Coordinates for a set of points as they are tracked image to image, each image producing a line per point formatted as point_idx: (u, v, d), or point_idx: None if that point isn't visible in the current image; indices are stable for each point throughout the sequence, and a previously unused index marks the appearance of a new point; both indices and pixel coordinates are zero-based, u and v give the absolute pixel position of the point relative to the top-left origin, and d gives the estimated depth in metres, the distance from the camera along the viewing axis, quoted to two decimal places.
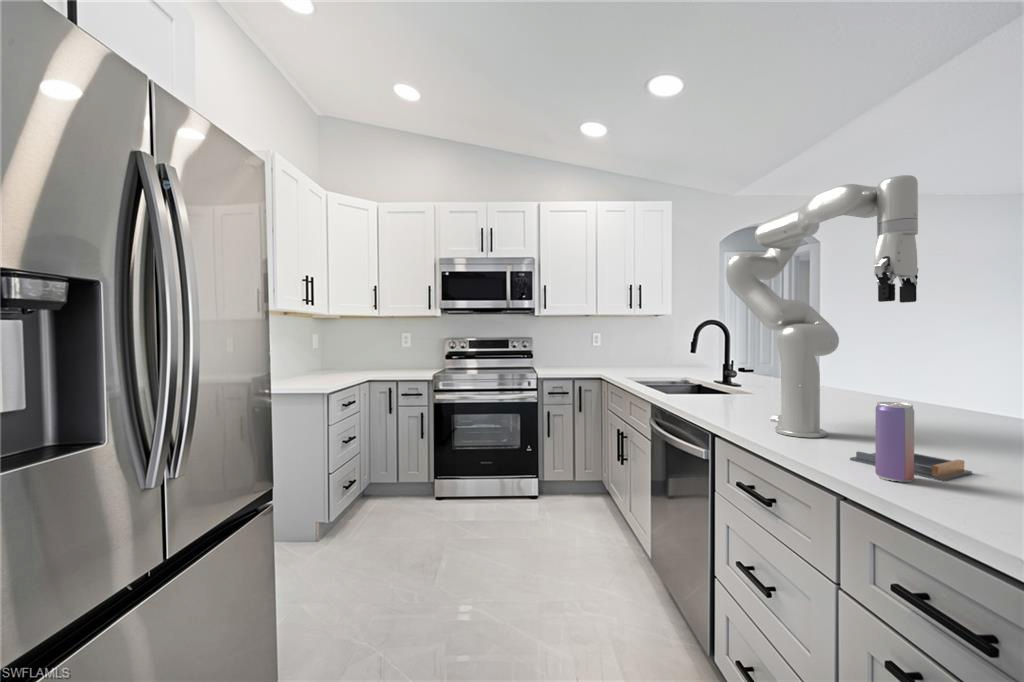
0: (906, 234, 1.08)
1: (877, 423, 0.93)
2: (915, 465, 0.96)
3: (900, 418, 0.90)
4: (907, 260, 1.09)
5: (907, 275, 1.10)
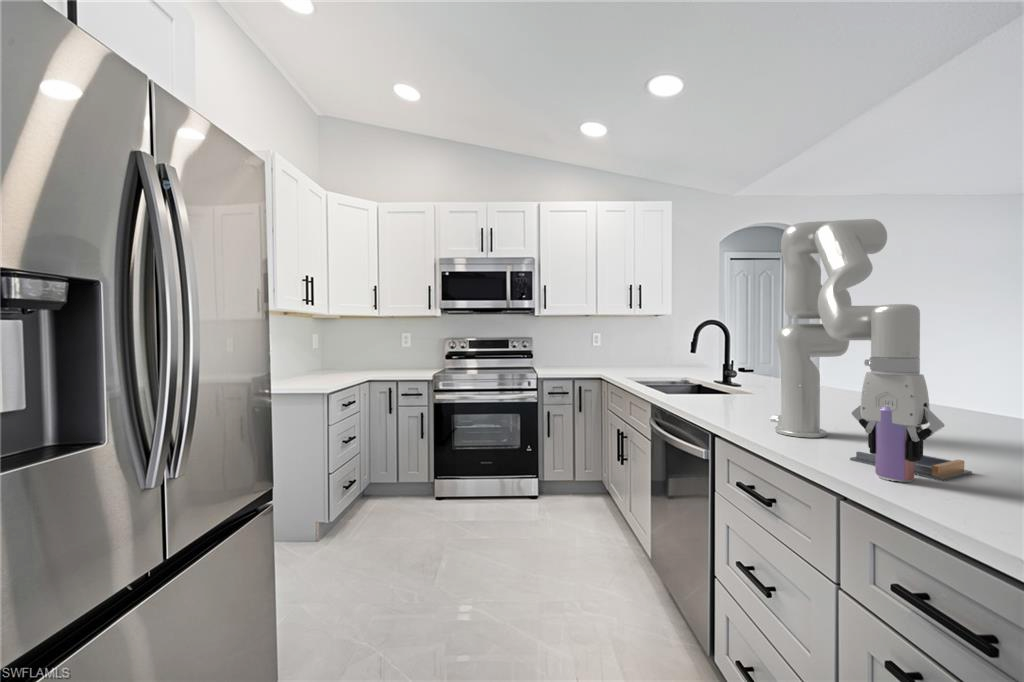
0: None
1: (877, 423, 0.93)
2: (915, 465, 0.96)
3: None
4: None
5: None
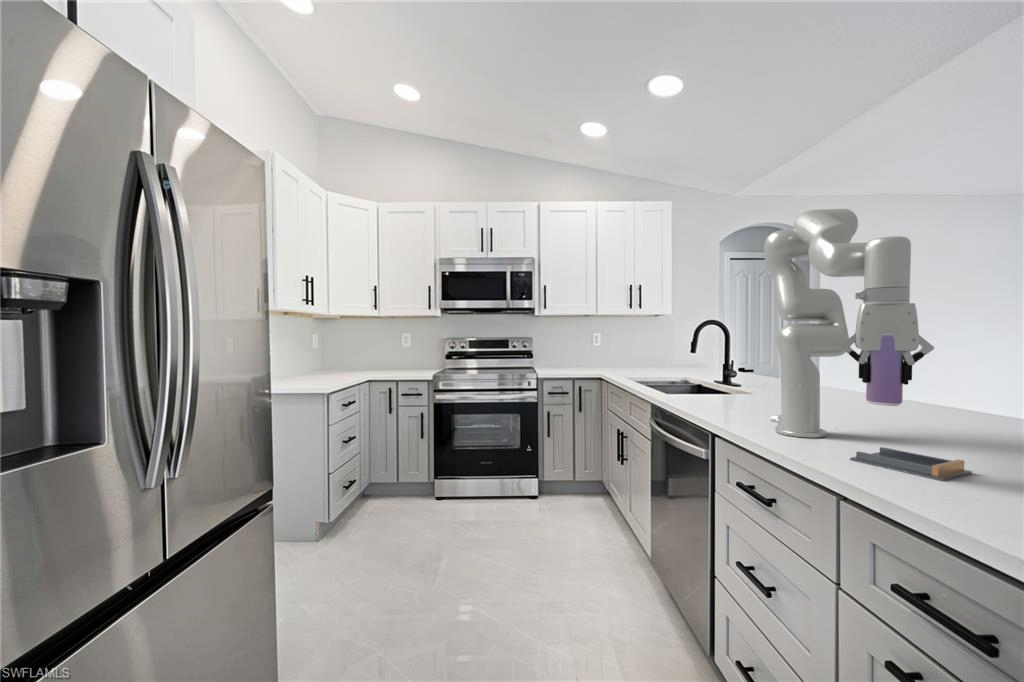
0: None
1: (876, 352, 0.97)
2: (915, 465, 0.96)
3: None
4: None
5: None
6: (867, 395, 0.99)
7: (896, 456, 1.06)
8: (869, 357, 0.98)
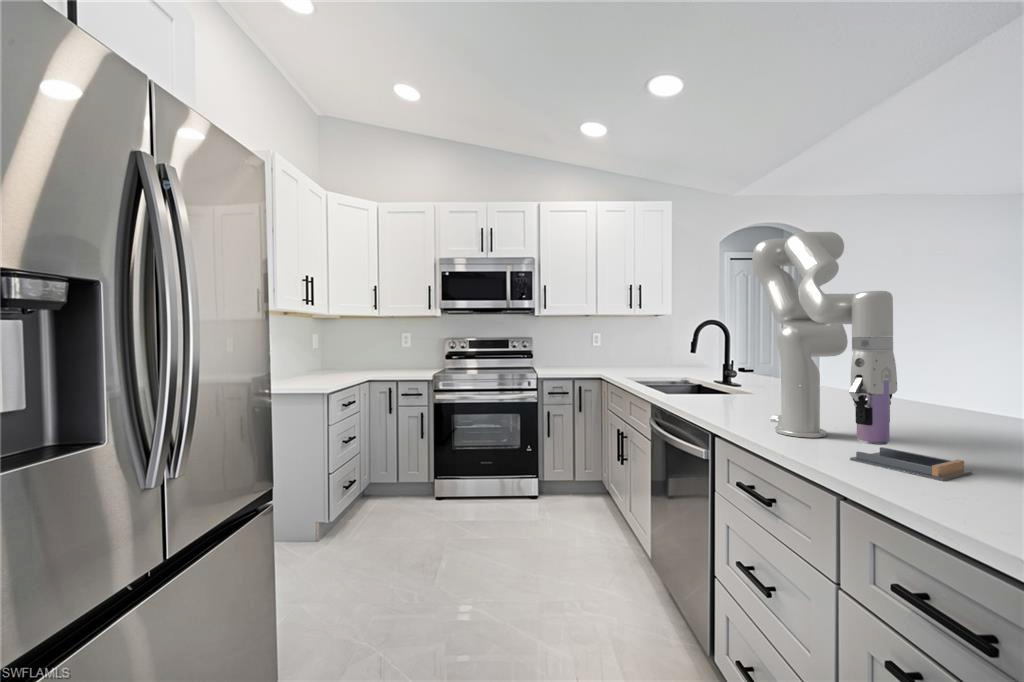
0: None
1: (880, 396, 1.04)
2: (915, 465, 0.96)
3: None
4: None
5: None
6: (868, 436, 1.05)
7: (896, 456, 1.06)
8: (871, 401, 1.05)
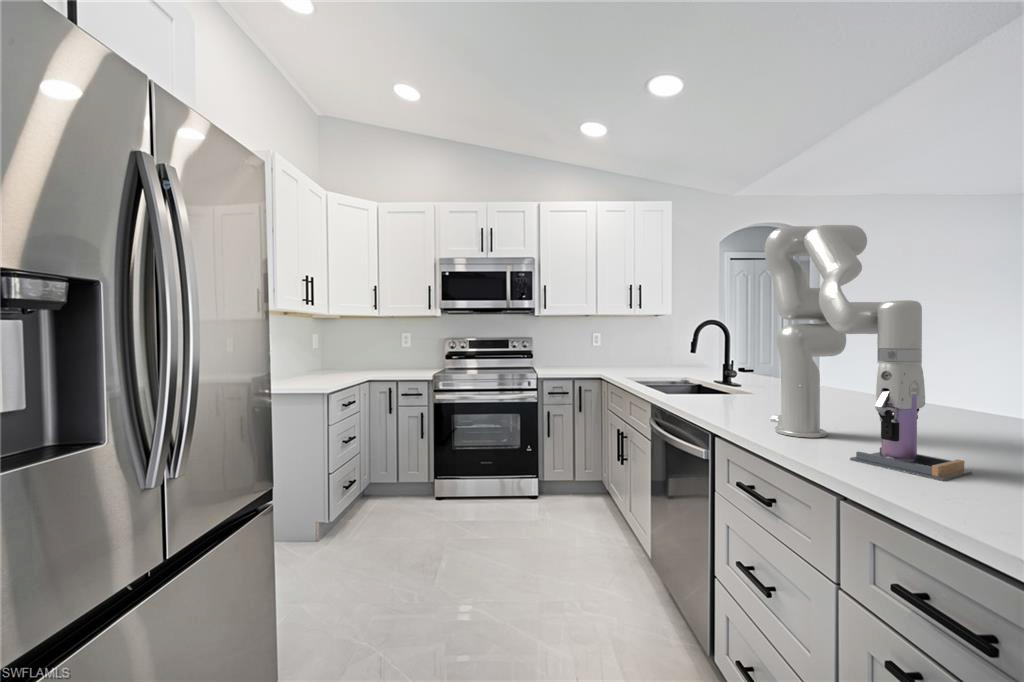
0: None
1: (907, 410, 0.99)
2: (915, 465, 0.96)
3: None
4: None
5: None
6: (894, 453, 1.01)
7: None
8: (898, 415, 1.00)
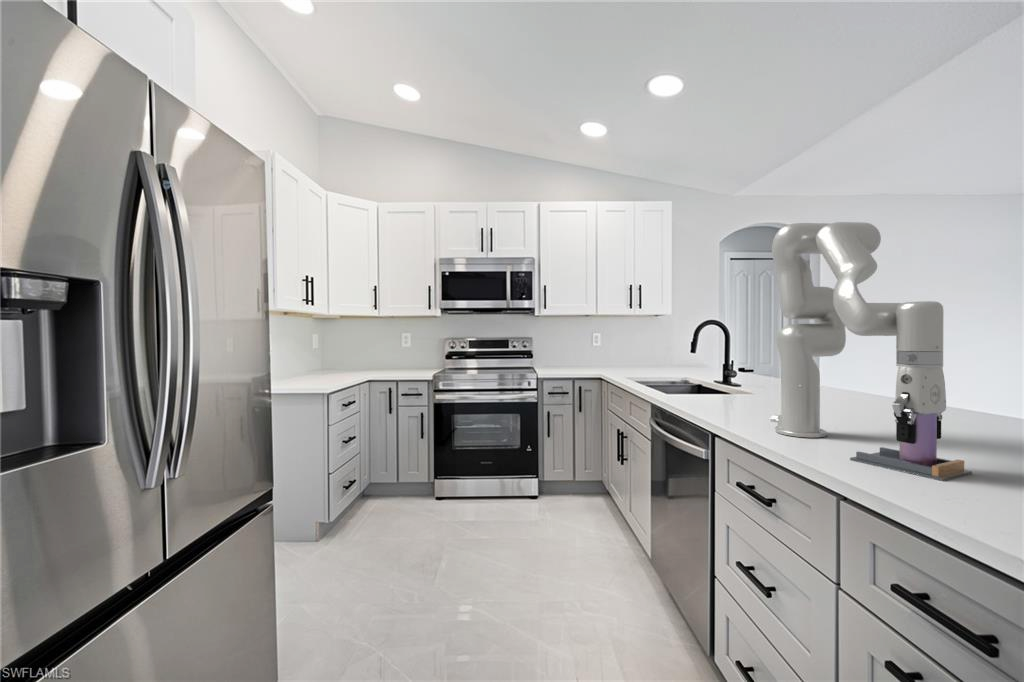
0: None
1: (927, 417, 0.96)
2: (915, 465, 0.96)
3: None
4: None
5: None
6: (914, 461, 0.98)
7: (896, 456, 1.06)
8: (917, 422, 0.97)
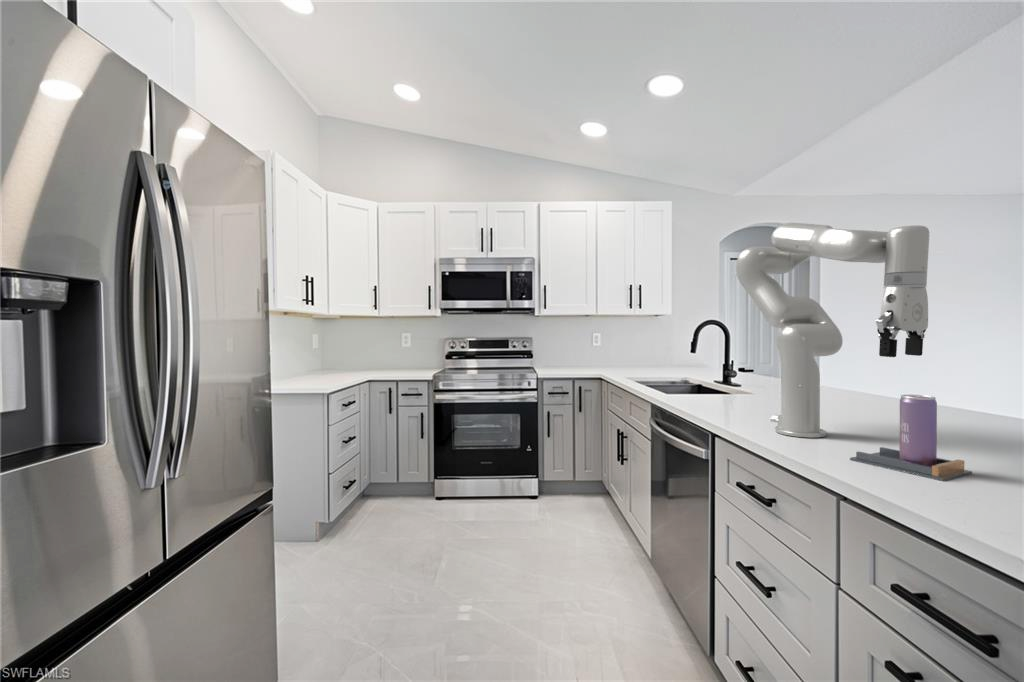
0: None
1: (927, 417, 0.96)
2: (915, 465, 0.96)
3: None
4: None
5: None
6: (914, 461, 0.98)
7: (896, 456, 1.06)
8: (917, 422, 0.97)
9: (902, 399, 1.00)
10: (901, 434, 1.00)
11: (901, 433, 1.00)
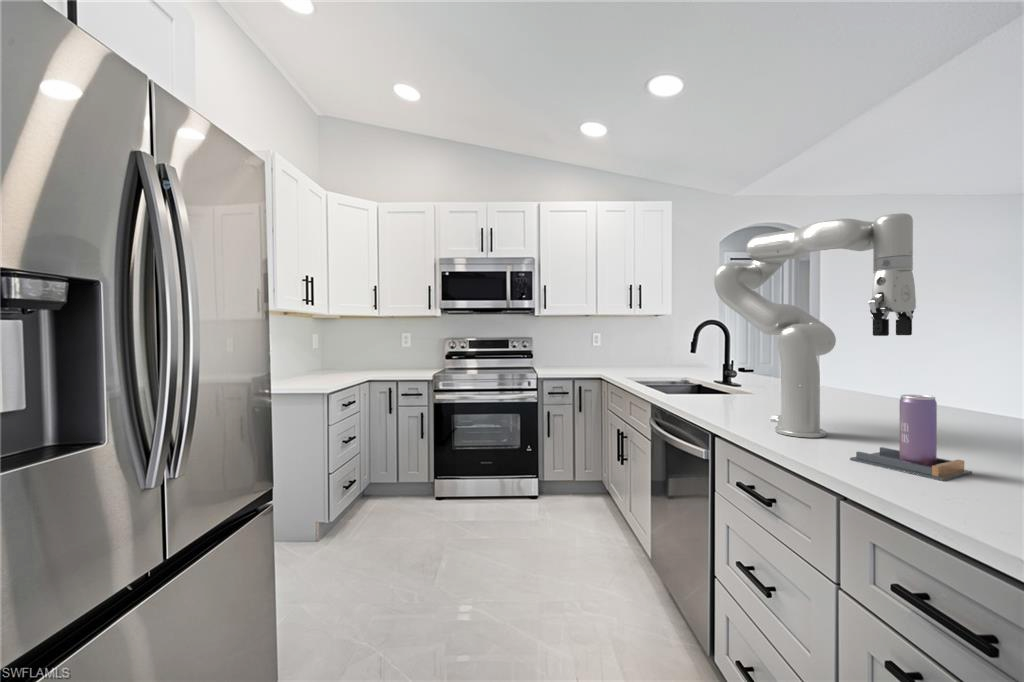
0: None
1: (927, 417, 0.96)
2: (915, 465, 0.96)
3: None
4: None
5: None
6: (914, 461, 0.98)
7: (896, 456, 1.06)
8: (917, 422, 0.97)
9: (902, 399, 1.00)
10: (901, 434, 1.00)
11: (901, 433, 1.00)
